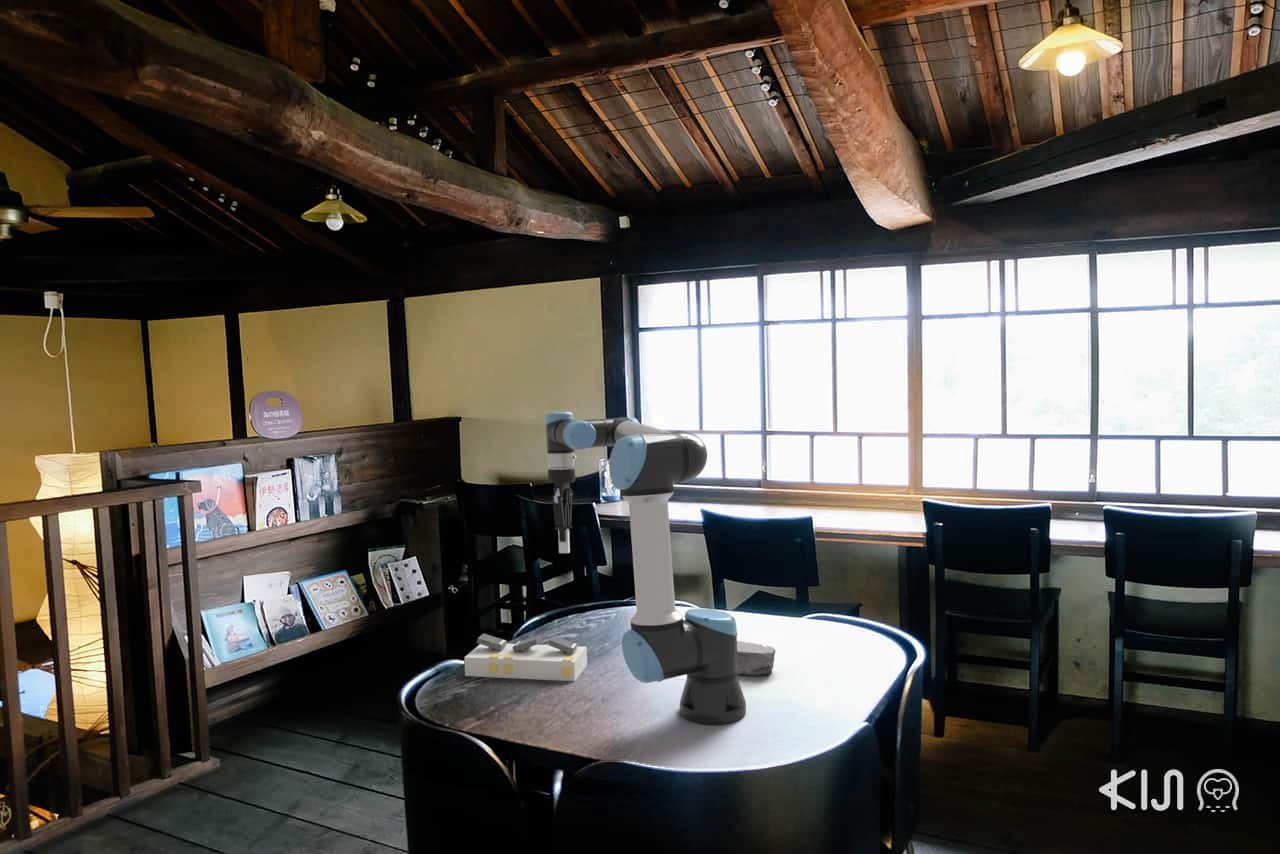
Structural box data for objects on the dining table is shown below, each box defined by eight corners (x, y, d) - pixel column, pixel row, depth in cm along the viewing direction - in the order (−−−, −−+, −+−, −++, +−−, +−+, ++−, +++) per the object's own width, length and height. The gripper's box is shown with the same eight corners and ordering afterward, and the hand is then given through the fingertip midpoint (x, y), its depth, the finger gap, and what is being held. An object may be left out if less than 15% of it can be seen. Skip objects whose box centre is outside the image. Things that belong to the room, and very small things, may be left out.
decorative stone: (718, 665, 217) (718, 678, 207) (718, 640, 217) (718, 651, 207) (774, 666, 216) (776, 679, 206) (773, 640, 216) (776, 652, 206)
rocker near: (572, 654, 213) (574, 648, 213) (548, 644, 214) (549, 639, 214) (576, 649, 217) (578, 643, 217) (552, 640, 218) (554, 634, 218)
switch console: (574, 681, 208) (573, 658, 207) (464, 676, 214) (463, 653, 213) (587, 664, 220) (586, 643, 219) (482, 660, 226) (482, 638, 225)
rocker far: (500, 650, 217) (502, 645, 217) (476, 643, 218) (477, 637, 218) (506, 645, 221) (507, 640, 221) (482, 638, 222) (483, 632, 222)
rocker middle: (537, 644, 215) (535, 639, 215) (514, 651, 216) (512, 646, 216) (542, 639, 219) (540, 634, 219) (519, 646, 220) (517, 641, 220)
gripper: (567, 470, 217) (570, 558, 218) (580, 465, 229) (583, 547, 231) (540, 470, 218) (544, 557, 219) (555, 465, 231) (558, 547, 232)
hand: (564, 552), depth 225 cm, fingers closed
